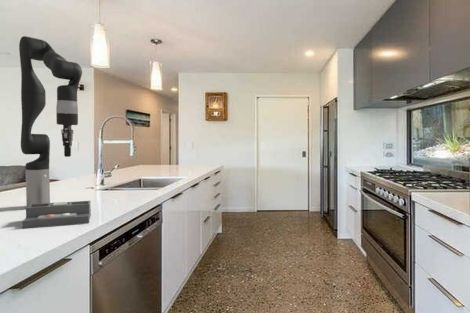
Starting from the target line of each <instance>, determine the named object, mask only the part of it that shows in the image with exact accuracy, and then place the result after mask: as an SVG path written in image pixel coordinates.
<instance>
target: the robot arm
mask: <svg viewBox="0 0 470 313" xmlns="http://www.w3.org/2000/svg"><path fill="white" fill-rule="evenodd" d="M18 51H19V61H20V62H19V63H20V73H21V80H20V82H21V83H20V86H21V87H20V95H21V96H20V98H21V100H20V102H21V104H20V105H21V132H20V150H21V152H22V154H23V155H39V156H38V158H35V159H34V160H32V161H29V162H27V163H25V165H24V166H25V190H26V191H25V199H26V202H25V203H26V208H27V207H28V206H29V205H30V204H41V203H51V193H50V192H51V189H50V188H51V184H50V180H51V179H50V151H51V139H50V137H49V135H48V134H46V133H32V130H33V125H34V124H35V121H36V120H37V118H38V117H39V115H40V114H41V113H42V112H43V110H44V109H45V106H46V89H45V87H44V85H43V83H42V82H41V80H40V79H39V78H38V76H37V75H36V73H35V71H34V68H33V63H32V60H33V61H39V62H43V64H44V66H45V67H46V68H47V69H49V70H50V72H51V74H52V76H53V77H54V78H56V79H61V80H69V81H68V84H62V85H59V86H57V88H56V106H55V108H56V125H60V126H61V125H62V128H61V130H60V131H61V132H60V134H61V141H62V146H63V148H64V149H63V151H64V152H63V155H64V157H67V158H68V157H69V158H70V157H71V156H72V145H73V141H74V139H73V138H74V136H73V135H74V129H72V127H73V126H78V124H79V113H78V112H79V108H78V107H79V106H78V89H79V85H80V83H81V82H80V81H81V79H82V74H83V70H82V67H81V65H80V64H79V63H77V62H72V61H68V60H67V59H66V58H64V57H63V56H61V55H60V54H59V53H57V52H56V51H55V49H54V48H53V47H52V46H51V45H50V43H49V42H47V41H46V40H43V39H39V38H35V37H31V36H26V35H24V36H22V37H21V38H20V40H19V44H18Z"/></svg>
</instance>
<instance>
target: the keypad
mask: <svg viewBox="0 0 470 313" xmlns="http://www.w3.org/2000/svg"><path fill="white" fill-rule="evenodd" d="M62 202H63V201H61V202H60V201H59V202H57V203H62ZM67 202H68V205H60V206H52V205H53V204H54V203H55V202H50V203H41V204H30V205H29V206H28V207H27V206H26V207H25V218H24V219H23V220H22V229H30V228H43V227H55V226H67V225H80V224H89V223H90V220H91V216H92V215H91V214H92V213H91V212H92V209H91V208H92V207H91V206H92V205H91V200H81V201H80V200H79V201H77V200H76V201H67Z"/></svg>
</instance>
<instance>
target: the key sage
mask: <svg viewBox="0 0 470 313" xmlns="http://www.w3.org/2000/svg"><path fill="white" fill-rule="evenodd" d="M61 202H62V203H58V202H53V203H54V204H53V205H52V206H60V205H68V202H69V201H64V202H63V201H61Z"/></svg>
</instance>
